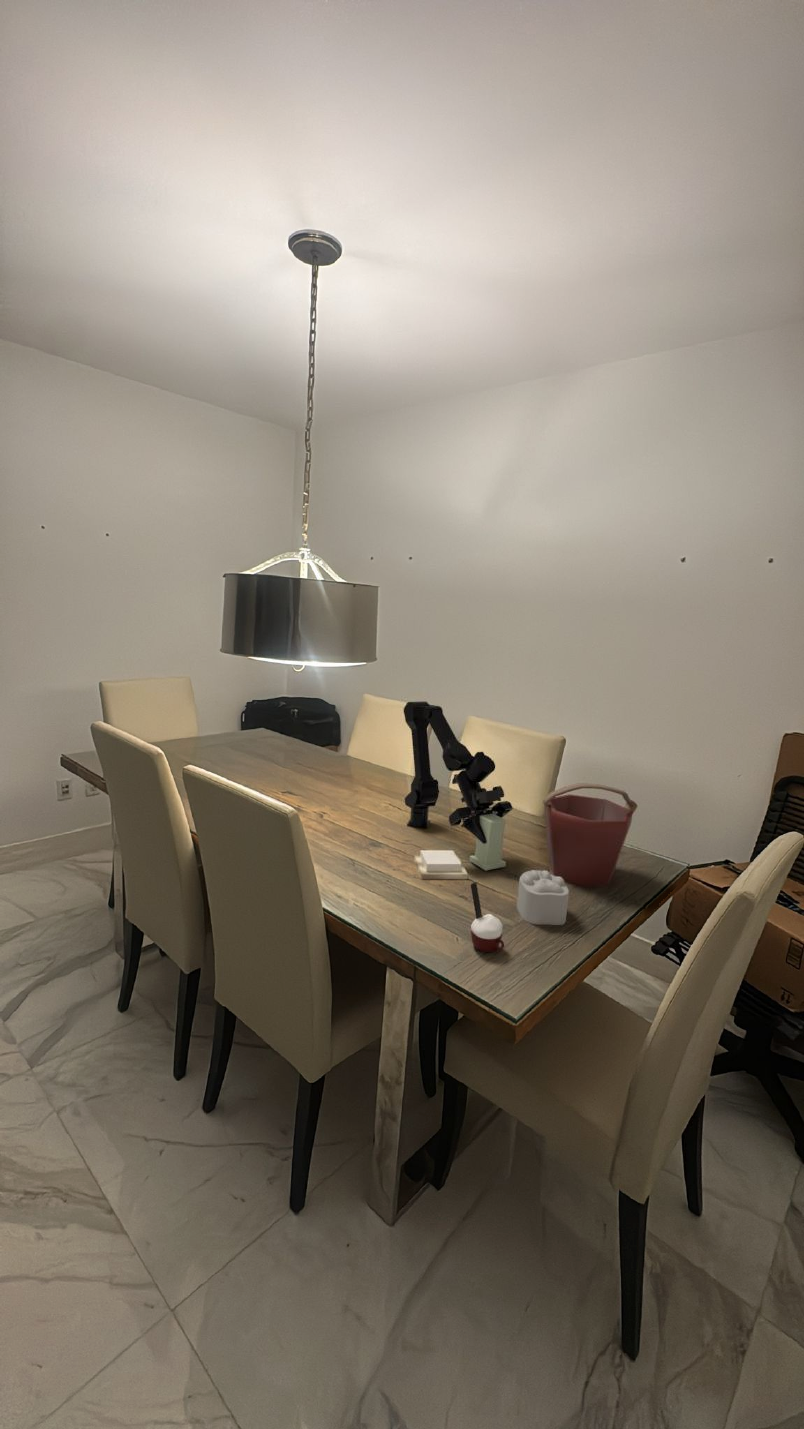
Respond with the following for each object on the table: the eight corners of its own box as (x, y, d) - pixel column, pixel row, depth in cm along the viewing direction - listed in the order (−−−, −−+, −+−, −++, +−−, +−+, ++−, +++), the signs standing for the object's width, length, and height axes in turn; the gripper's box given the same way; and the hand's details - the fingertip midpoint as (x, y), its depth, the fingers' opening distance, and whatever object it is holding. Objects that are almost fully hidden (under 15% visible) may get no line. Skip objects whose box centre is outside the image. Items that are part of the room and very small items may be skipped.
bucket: (625, 866, 170) (637, 781, 166) (633, 900, 149) (647, 804, 145) (537, 851, 177) (546, 769, 172) (532, 882, 156) (543, 789, 151)
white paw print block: (524, 924, 135) (528, 888, 133) (511, 896, 147) (514, 863, 146) (570, 925, 135) (574, 889, 134) (552, 898, 148) (556, 865, 147)
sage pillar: (469, 860, 166) (473, 815, 163) (489, 856, 169) (493, 812, 167) (485, 870, 160) (490, 824, 157) (505, 866, 163) (510, 820, 161)
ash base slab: (413, 862, 165) (414, 855, 165) (456, 862, 167) (457, 855, 167) (421, 881, 154) (421, 874, 153) (467, 881, 155) (467, 874, 155)
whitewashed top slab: (420, 857, 164) (420, 850, 163) (452, 857, 165) (452, 850, 165) (426, 871, 155) (427, 864, 155) (460, 871, 156) (461, 864, 156)
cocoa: (507, 958, 121) (516, 904, 119) (478, 961, 119) (487, 906, 117) (487, 932, 130) (495, 881, 128) (460, 934, 128) (468, 882, 126)
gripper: (458, 779, 159) (481, 834, 151) (512, 773, 168) (535, 824, 161) (439, 799, 166) (459, 851, 159) (491, 792, 176) (512, 841, 169)
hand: (493, 841), depth 162 cm, fingers closed on sage pillar, 5 cm apart
